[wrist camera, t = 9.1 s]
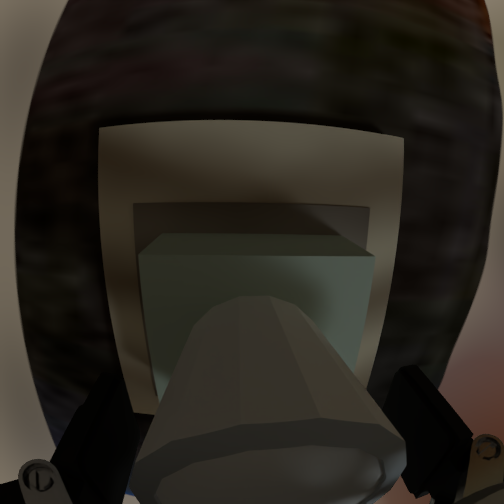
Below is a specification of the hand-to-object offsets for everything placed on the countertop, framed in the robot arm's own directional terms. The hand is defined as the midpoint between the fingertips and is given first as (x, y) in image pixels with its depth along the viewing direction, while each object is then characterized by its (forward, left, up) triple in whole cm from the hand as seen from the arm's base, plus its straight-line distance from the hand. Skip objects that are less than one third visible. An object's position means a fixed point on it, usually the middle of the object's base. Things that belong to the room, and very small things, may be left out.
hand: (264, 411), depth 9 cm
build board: (-1, 0, -9) cm, 9 cm away
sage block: (0, 0, -7) cm, 7 cm away
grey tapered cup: (0, 0, -3) cm, 3 cm away
